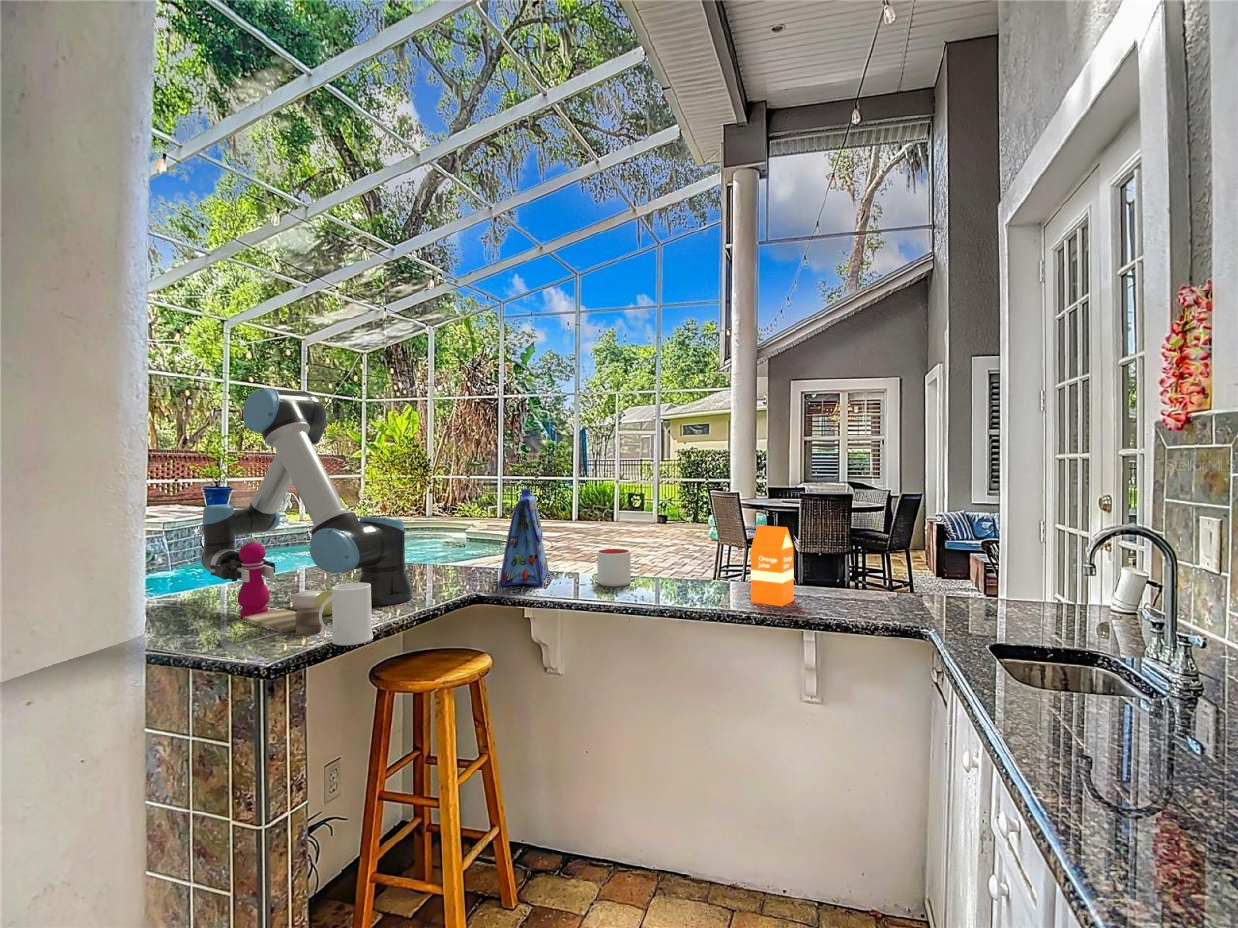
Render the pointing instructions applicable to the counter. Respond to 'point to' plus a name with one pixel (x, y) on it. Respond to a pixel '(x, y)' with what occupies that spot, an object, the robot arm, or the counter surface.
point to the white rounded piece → (305, 599)
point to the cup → (614, 567)
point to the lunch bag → (524, 546)
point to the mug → (350, 614)
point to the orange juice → (772, 566)
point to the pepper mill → (253, 580)
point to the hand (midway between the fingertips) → (260, 574)
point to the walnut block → (307, 621)
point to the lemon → (320, 601)
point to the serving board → (274, 620)
